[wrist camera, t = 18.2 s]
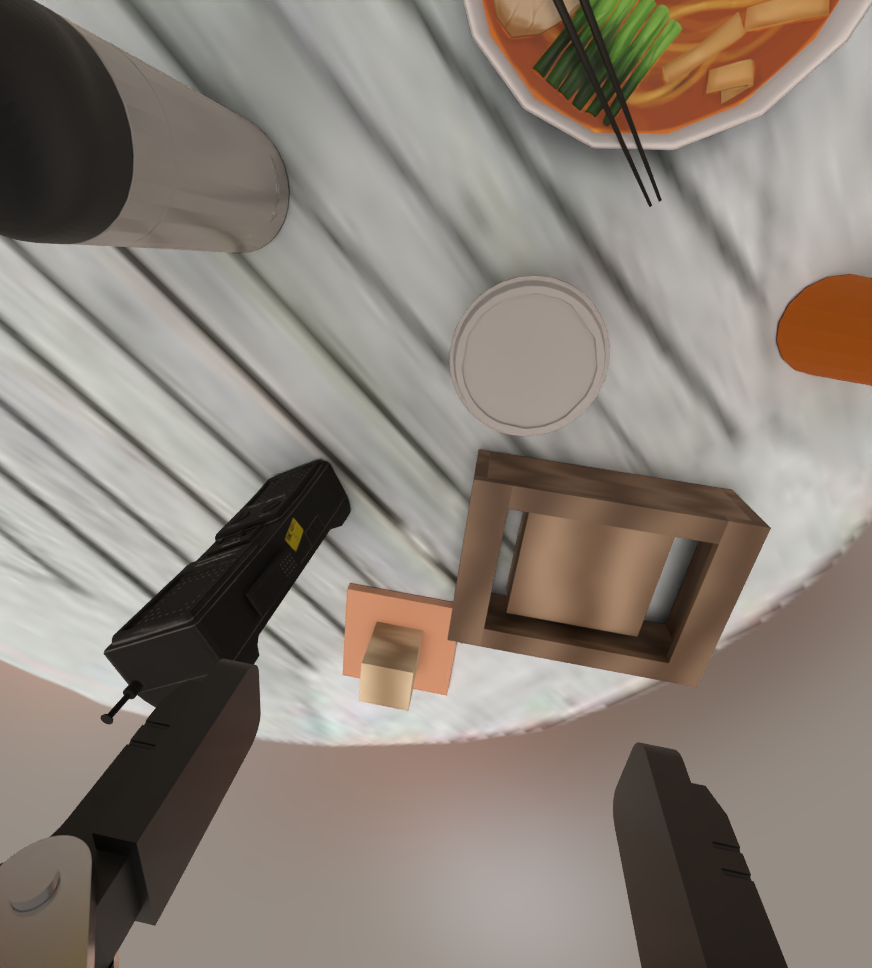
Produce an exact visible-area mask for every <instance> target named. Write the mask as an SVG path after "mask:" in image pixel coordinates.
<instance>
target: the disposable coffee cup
mask: <svg viewBox="0 0 872 968" xmlns="http://www.w3.org/2000/svg"><path fill="white" fill-rule="evenodd" d="M609 348H610V346H609V340H608V334H607V330H606V327H605V324H604V322H603V319H602V317H601V315H600V314H599V312H598V310H597V309H596V307H595V306H594V304H593V303H592V302H591V301H590V300H589V299H588V298H587V297H586V296H585V295H584V294H583V293H582V292H580V291H579V290H578V289H577V288H575V287H573V286H571V285H569V284H567V283H565V282H563V281H560V280H557V279H554V278H551V277H542V276H525V277H517V278H513V279H510V280H507V281H504V282H501V283H499V284H497V285H496V286H494V287H492V288H490V289H488V290H487V291H485V292H484V293H483V294H482V295H480V296H479V297H478V298H477V299H476V300H475V301H474V302H473V303H472V304H471V305H470V307H469V308H468V309H467V310H466V311H465V313H464V314H463V316H462V318H461V320H460V321H459V323H458V325H457V327H456V330H455V333H454V335H453V338H452V343H451V348H450V372H451V377H452V381H453V385H454V387H455V390H456V392H457V394H458V396H459V398H460V400H461V402H462V403H463V404H464V406H465V407H466V408H467V409H468V411H469V412H470V413H471V414H472V415H473V416H474V417H476V418H477V419H478V420H479V421H480V422H482V423H484V424H485V425H487V426H489V427H490V428H492V429H494V430H497V431H500V432H502V433H506V434H511V435H517V436H532V435H541V434H545V433H548V432H551V431H554V430H557V429H560V428H562V427H563V426H565V425H567V424H568V423H570V422H572V421H573V420H575V419H576V418H577V417H578V416H579V415H581V414H582V413H583V412H584V411H585V410H586V409H587V408H588V407H589V405H590V404H591V403H592V401H593V400H594V399H595V398H596V396H597V395H598V393H599V391H600V389H601V387H602V385H603V383H604V381H605V377H606V373H607V369H608V364H609Z"/></svg>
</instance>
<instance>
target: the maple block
mask: <svg viewBox="0 0 872 968" xmlns="http://www.w3.org/2000/svg"><path fill="white" fill-rule="evenodd" d="M422 636H423V630H419V629H414V628H409V627H403V626H398V625H393V624H387V623H382V622H376V625H375V628H374V631H373V633H372V636H371V639H370V641H369V644H368V647H367V649H366V652H365V655H364V658H363V660H362V663H361V676H360V690H359V701H362V702H367V703H372V704H377V705H382V706H387V707H392V708H397V709H402V710H407V711H408V710H409V705H410V701H411V696H412V692H413V687H414V683H415V678H416V674H417V670H418V665H419V657H420V650H421V643H422Z"/></svg>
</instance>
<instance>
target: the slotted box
mask: <svg viewBox="0 0 872 968" xmlns="http://www.w3.org/2000/svg"><path fill="white" fill-rule="evenodd" d="M508 509H512V510H518V511H523V515H522V519H521V524H520V528H519V533H518V537H517V542H516V547H515V551H514V556H513V560H512V565H511V569H510V574H509V578H508V583H507V596H506V595H500V594H495V593H491V591H492V586H493V581H494V576H495V571H496V567H497V562H498V557H499V552H500V547H501V542H502V537H503V532H504V527H505V523H506V518H507V513H508ZM770 529H771V528H770V527H769V526H768V525H767V524H766V523H765V522H764V521H763V520H762V519H761V518H760V517H759V516H758V515H757V514H756V513H755V512H754V511H753V510H752V509H751V508H750V507H749V506H748V505H747V504H746V503H745V502H744V501H743V500H742V499H741V498H740V497H739V496H738V495H737V494H736V493H735V492H734V491H733V490H730V489H724V488H717V487H711V486H705V485H698V484H692V483H686V482H680V481H673V480H667V479H661V478H655V477H648V476H642V475H636V474H630V473H623V472H617V471H611V470H605V469H598V468H592V467H586V466H579V465H573V464H567V463H561V462H554V461H548V460H542V459H536V458H529V457H523V456H517V455H511V454H504V453H498V452H492V451H486V450H479V451H478V457H477V463H476V469H475V475H474V481H473V487H472V493H471V499H470V505H469V511H468V517H467V523H466V529H465V535H464V541H463V547H462V553H461V559H460V565H459V571H458V577H457V583H456V589H455V595H454V602H453V608H452V614H451V620H450V626H449V632H448V638H447V640H449V641H455V642H460V643H465V644H471V645H476V646H481V647H486V648H492V649H497V650H502V651H508V652H513V653H518V654H524V655H529V656H534V657H539V658H545V659H550V660H555V661H561V662H566V663H571V664H577V665H582V666H587V667H592V668H598V669H603V670H608V671H614V672H619V673H624V674H629V675H635V676H640V677H645V678H651V679H656V680H661V681H667V682H672V683H677V684H682V685H688V686H693V687H697V686H698V683H699V681H700V679H701V677H702V675H703V672H704V670H705V668H706V666H707V664H708V662H709V660H710V658H711V655H712V653H713V651H714V649H715V647H716V645H717V643H718V640H719V638H720V636H721V634H722V632H723V630H724V628H725V625H726V623H727V621H728V619H729V617H730V615H731V613H732V610H733V608H734V606H735V604H736V602H737V600H738V598H739V595H740V593H741V591H742V589H743V587H744V585H745V582H746V580H747V578H748V576H749V574H750V572H751V570H752V567H753V565H754V563H755V561H756V559H757V557H758V555H759V552H760V550H761V548H762V546H763V544H764V542H765V540H766V537H767V535H768V533H769V531H770ZM675 537H679V538H685V539H691V540H697V541H699V543H698V546H697V548H696V551H695V553H694V556H693V558H692V560H691V563H690V565H689V568H688V570H687V573H686V575H685V578H684V580H683V583H682V585H681V588H680V590H679V593H678V595H677V598H676V600H675V603H674V605H673V608H672V610H671V613H670V615H669V618H668V620H667V623H666V624H661V623H655V622H650V621H644V618H645V615H646V612H647V610H648V607H649V604H650V602H651V599H652V596H653V594H654V591H655V588H656V586H657V583H658V580H659V578H660V575H661V572H662V570H663V567H664V564H665V562H666V559H667V556H668V554H669V551H670V548H671V546H672V543H673V540H674V538H675Z"/></svg>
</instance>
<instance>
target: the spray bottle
mask: <svg viewBox="0 0 872 968" xmlns="http://www.w3.org/2000/svg"><path fill="white" fill-rule="evenodd" d="M777 344H778V347H779V350H780V353H781V356H782V358H783V359H784V360H785V361H786V362H787V363H788V364H789V365H790V366H791V367H792V368H793V369H794V370H797V371H800V372H804V373H807V374H811V375H815V376H821V377H827V378H832V379H838V380H843V381H849V382H854V383H860V384H866V385H871V386H872V278H867V277H862V276H857V275H852V274H847V275H839V276H832V277H827V278H825V279H823V280H821V281H819V282H817V283H815V284H813V285H811V286H809V287H807V288H806V289H805V290H804V291H802V292H801V293H800V294H799V295H798V296H797V297H796V298H795V299H794V300H793V301H792V302H791V303H790V304H789V306H788V307H787V309H786V311H785V313H784V315H783V317H782V319H781V320H780V322H779V328H778V336H777Z"/></svg>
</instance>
